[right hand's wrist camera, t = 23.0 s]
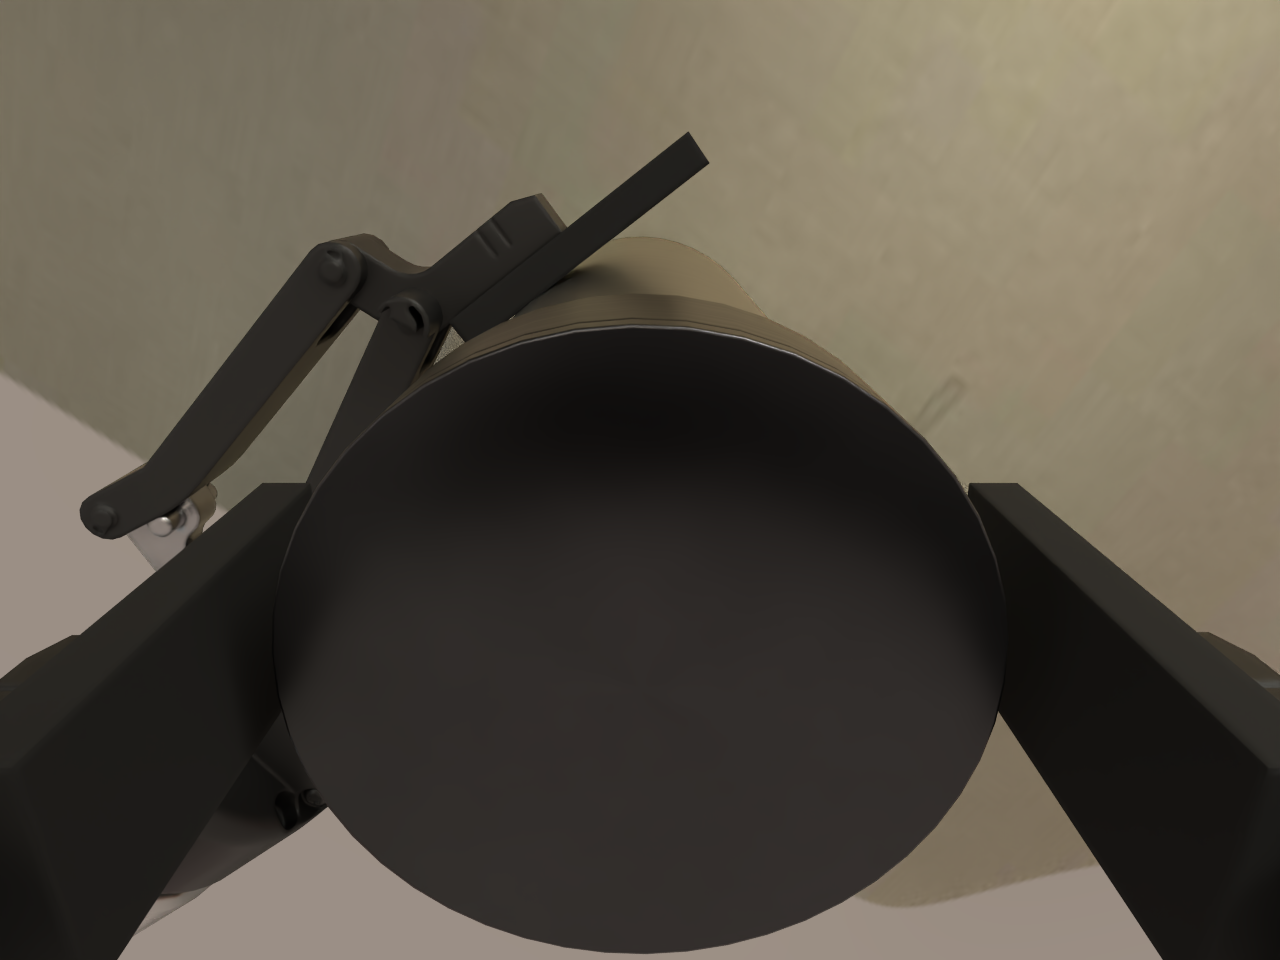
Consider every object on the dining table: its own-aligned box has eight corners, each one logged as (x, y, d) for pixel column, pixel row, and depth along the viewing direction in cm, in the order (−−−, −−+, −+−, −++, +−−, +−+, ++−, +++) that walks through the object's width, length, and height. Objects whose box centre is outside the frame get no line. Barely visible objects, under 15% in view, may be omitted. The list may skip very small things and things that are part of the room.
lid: (208, 555, 12) (113, 640, 10) (698, 140, 10) (713, 132, 8) (599, 913, 14) (592, 1043, 12) (1054, 639, 12) (1140, 737, 10)
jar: (795, 433, 27) (1010, 800, 11) (573, 513, 28) (489, 950, 12) (716, 195, 25) (854, 243, 9) (474, 293, 26) (206, 494, 10)
